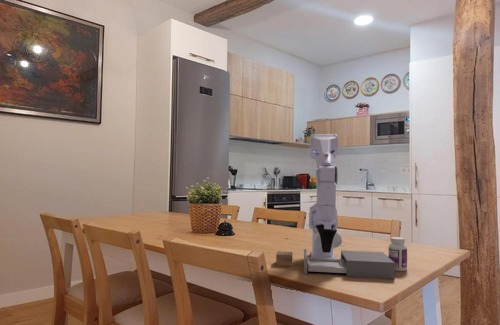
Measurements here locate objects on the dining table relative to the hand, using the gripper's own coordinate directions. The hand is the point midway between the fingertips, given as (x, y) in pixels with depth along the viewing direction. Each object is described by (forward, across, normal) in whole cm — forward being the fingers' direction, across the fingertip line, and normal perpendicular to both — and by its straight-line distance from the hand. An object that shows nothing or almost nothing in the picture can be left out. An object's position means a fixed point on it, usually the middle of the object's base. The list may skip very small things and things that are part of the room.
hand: (325, 249), depth 112 cm
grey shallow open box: (+6, 0, +1) cm, 6 cm away
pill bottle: (+6, -5, +22) cm, 24 cm away
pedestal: (+6, -4, -12) cm, 14 cm away
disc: (-3, +1, +1) cm, 3 cm away
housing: (+6, 0, +12) cm, 13 cm away
